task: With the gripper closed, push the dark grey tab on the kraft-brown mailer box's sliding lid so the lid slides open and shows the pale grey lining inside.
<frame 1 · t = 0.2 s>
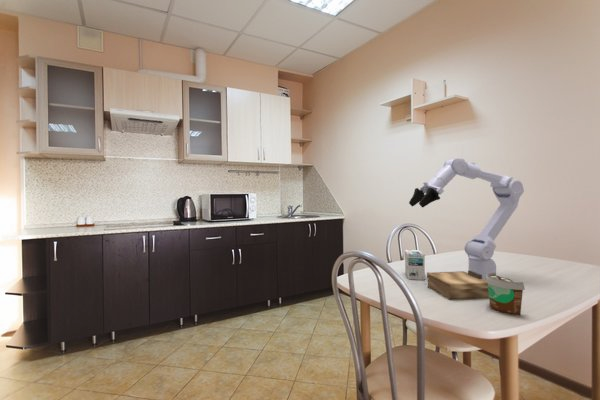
hand: (415, 205, 122), 31 cm above the table, tool tilted 45°, fingers open, 7 cm apart
light bulb box: (414, 277, 133), on the table
mailer box: (457, 292, 112), on the table
food container: (498, 310, 95), on the table
mailer lid: (457, 277, 111), point 5 cm above the table, slide at 0.0 cm
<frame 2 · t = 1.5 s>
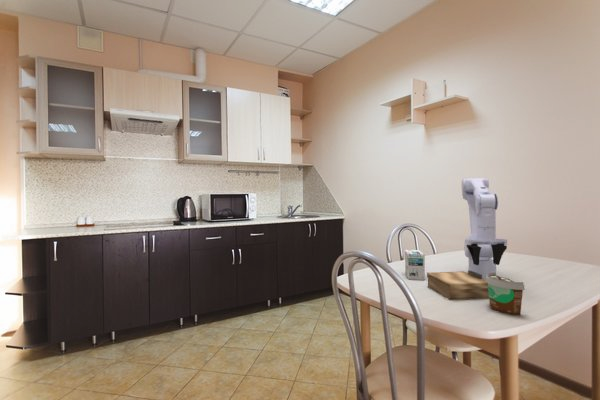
hand: (486, 264, 112), 10 cm above the table, tool pointing down, fingers open, 7 cm apart
nothing on the table moved.
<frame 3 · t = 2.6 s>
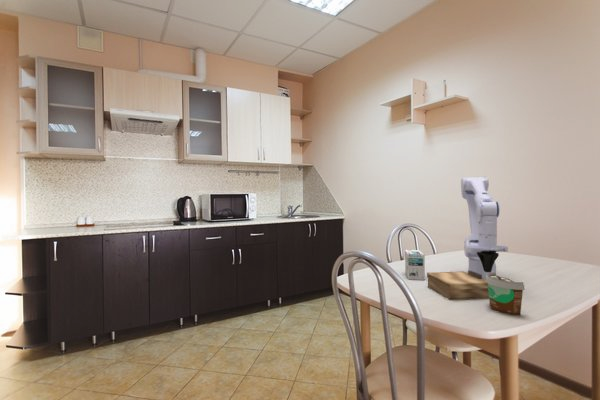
hand: (487, 271, 113), 7 cm above the table, tool pointing down, fingers closed
nothing on the table moved.
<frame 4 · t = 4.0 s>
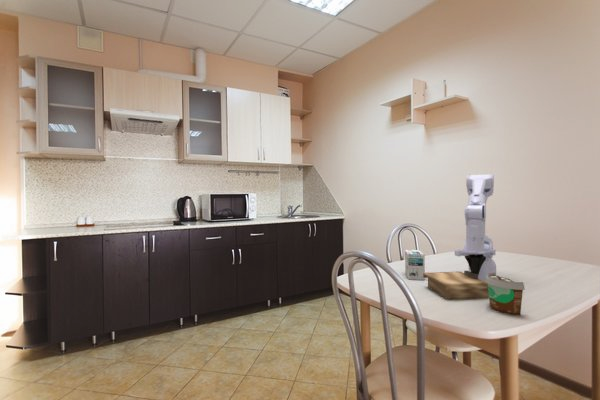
hand: (474, 275, 112), 6 cm above the table, tool pointing down, fingers closed
mailer lid: (453, 277, 111), point 5 cm above the table, slide at 1.5 cm, touching gripper
everything else where it was.
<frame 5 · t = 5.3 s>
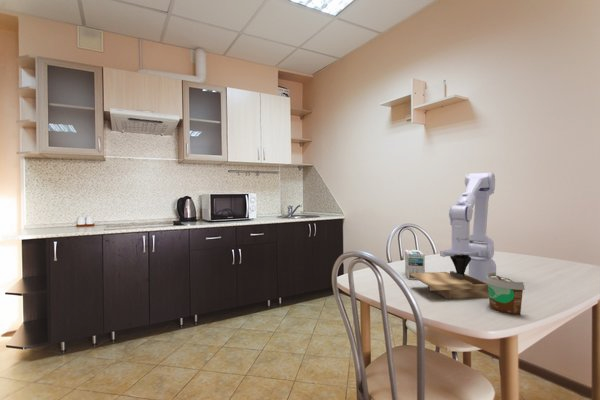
hand: (460, 275, 112), 6 cm above the table, tool pointing down, fingers closed
mailer lid: (439, 278, 111), point 5 cm above the table, slide at 7.1 cm, touching gripper
everything else where it was.
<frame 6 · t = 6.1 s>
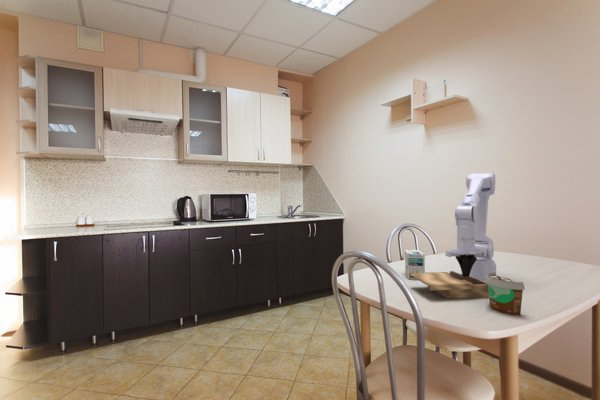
hand: (465, 275, 112), 6 cm above the table, tool pointing down, fingers closed
mailer lid: (438, 278, 111), point 5 cm above the table, slide at 7.1 cm
everything else where it was.
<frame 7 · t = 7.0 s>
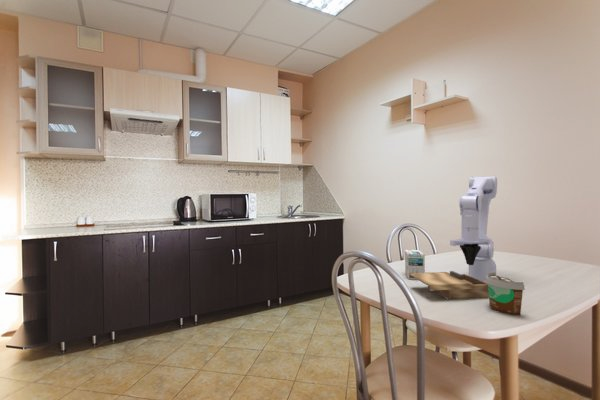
hand: (470, 264, 114), 9 cm above the table, tool pointing down, fingers closed
nothing on the table moved.
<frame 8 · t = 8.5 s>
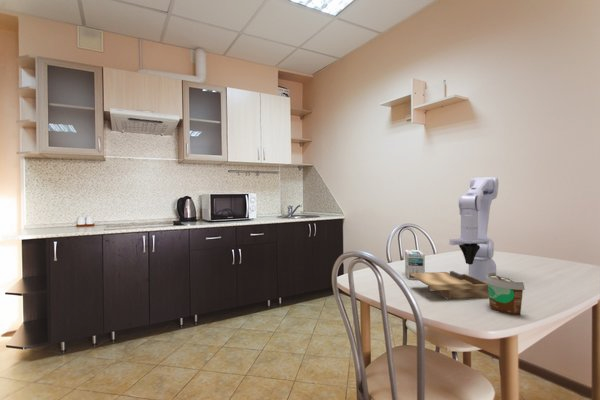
hand: (469, 263, 115), 9 cm above the table, tool pointing down, fingers closed
nothing on the table moved.
at the end: mailer lid slide at 7.1 cm; light bulb box moved 0.3 cm from its start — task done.
